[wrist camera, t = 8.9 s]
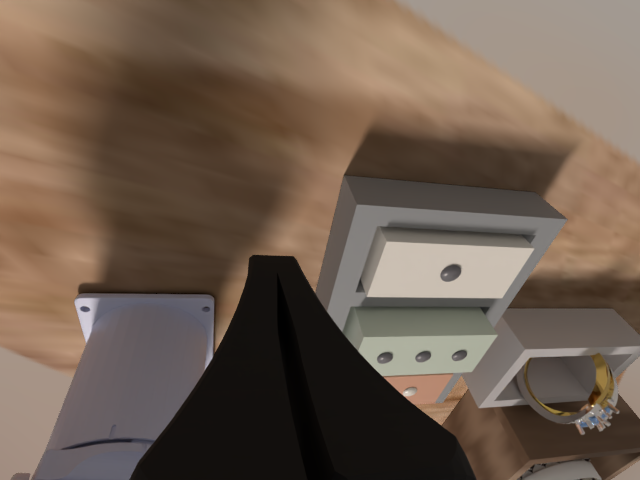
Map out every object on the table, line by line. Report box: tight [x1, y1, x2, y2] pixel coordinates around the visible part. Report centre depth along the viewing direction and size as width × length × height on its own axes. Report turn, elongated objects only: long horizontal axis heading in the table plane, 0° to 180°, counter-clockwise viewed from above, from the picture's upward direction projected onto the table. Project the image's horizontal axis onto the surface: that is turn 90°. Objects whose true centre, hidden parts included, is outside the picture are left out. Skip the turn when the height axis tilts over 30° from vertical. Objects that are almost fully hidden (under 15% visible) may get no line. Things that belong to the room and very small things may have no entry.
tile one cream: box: [360, 226, 535, 298], centre depth 23 cm, size 4×9×3 cm, turn 80°
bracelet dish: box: [462, 308, 640, 408], centre depth 33 cm, size 8×12×4 cm, turn 79°
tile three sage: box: [343, 306, 498, 376], centre depth 25 cm, size 4×9×3 cm, turn 79°
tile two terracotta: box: [383, 373, 453, 405], centre depth 29 cm, size 4×9×3 cm, turn 79°
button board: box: [315, 175, 568, 403], centre depth 27 cm, size 19×13×3 cm, turn 169°
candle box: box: [442, 389, 640, 480], centre depth 39 cm, size 14×14×8 cm
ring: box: [517, 353, 619, 435], centre depth 31 cm, size 7×3×8 cm, turn 135°
